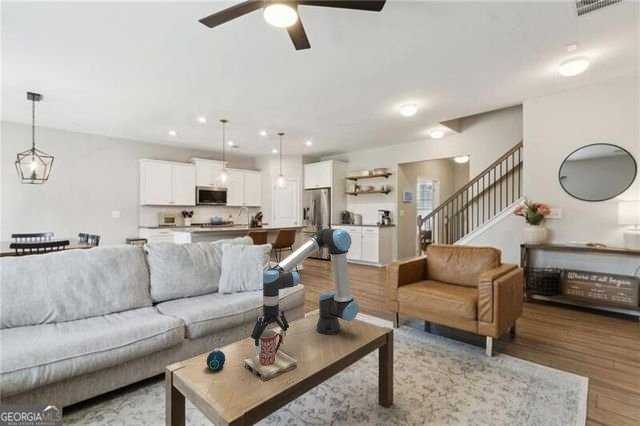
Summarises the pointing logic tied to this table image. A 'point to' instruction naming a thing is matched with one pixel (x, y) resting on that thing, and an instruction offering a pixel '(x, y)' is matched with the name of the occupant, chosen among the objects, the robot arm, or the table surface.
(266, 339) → the mug
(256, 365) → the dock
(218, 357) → the christmas ornament
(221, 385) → the table surface
